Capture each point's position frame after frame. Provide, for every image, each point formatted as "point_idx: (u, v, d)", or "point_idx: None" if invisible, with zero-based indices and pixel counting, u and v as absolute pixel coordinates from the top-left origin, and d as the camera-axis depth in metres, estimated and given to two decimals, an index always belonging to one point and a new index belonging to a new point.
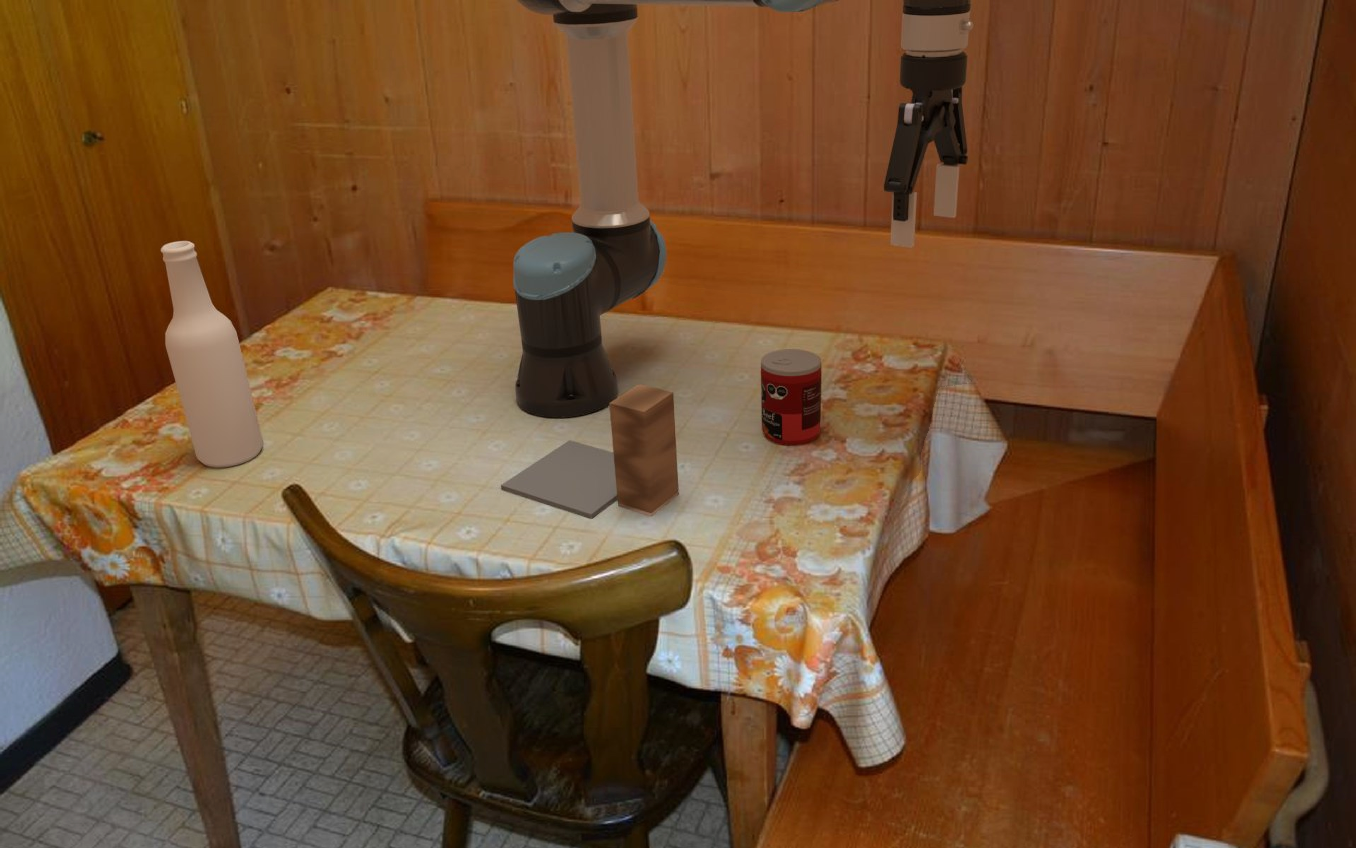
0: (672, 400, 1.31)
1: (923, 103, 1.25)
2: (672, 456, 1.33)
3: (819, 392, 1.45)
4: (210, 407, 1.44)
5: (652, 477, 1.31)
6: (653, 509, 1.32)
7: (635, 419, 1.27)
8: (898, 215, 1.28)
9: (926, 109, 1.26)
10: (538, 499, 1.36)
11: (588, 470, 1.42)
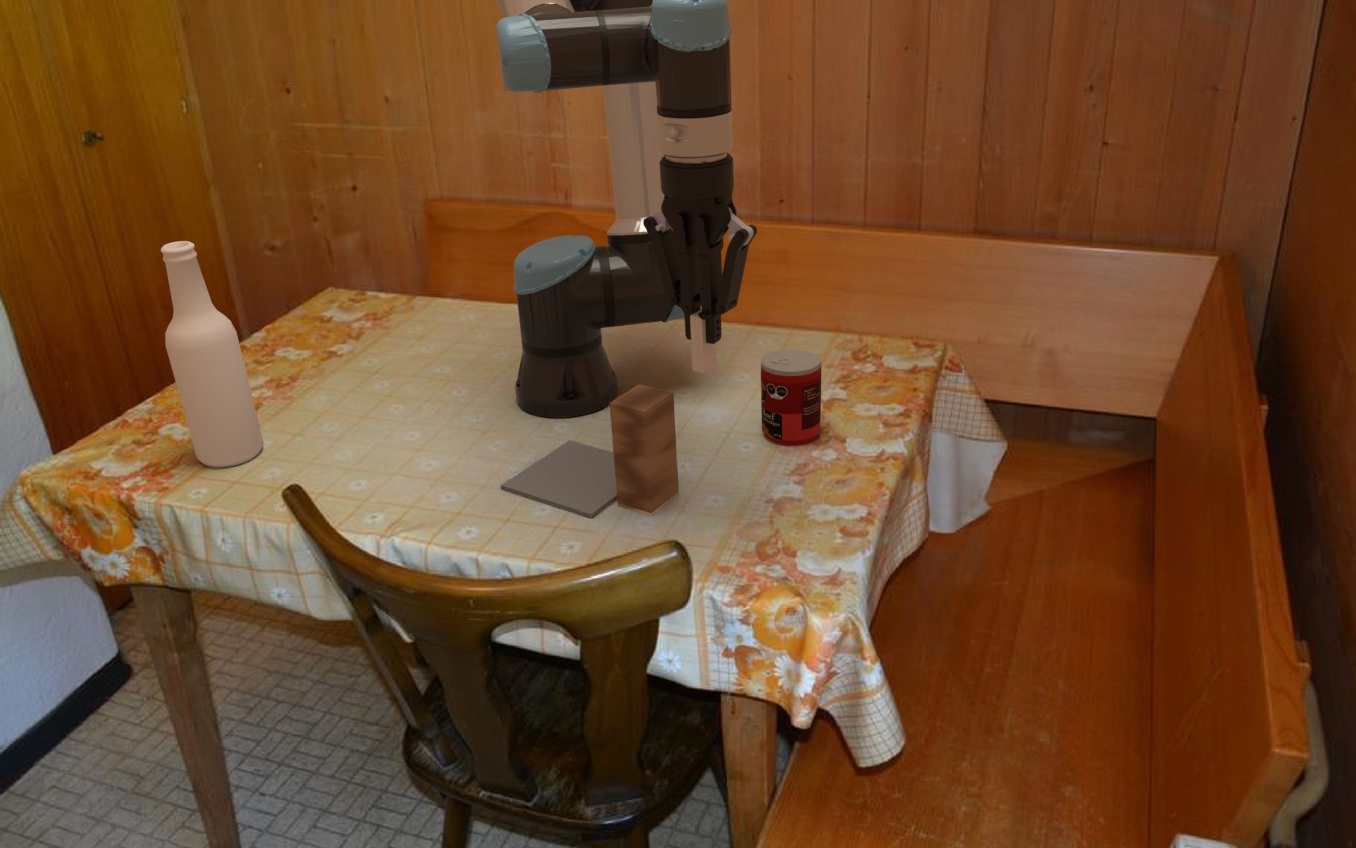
0: (672, 400, 1.31)
1: None
2: (672, 456, 1.33)
3: (819, 392, 1.45)
4: (210, 407, 1.44)
5: (652, 477, 1.31)
6: (653, 509, 1.32)
7: (635, 419, 1.27)
8: None
9: (663, 214, 1.16)
10: (538, 499, 1.36)
11: (588, 470, 1.42)
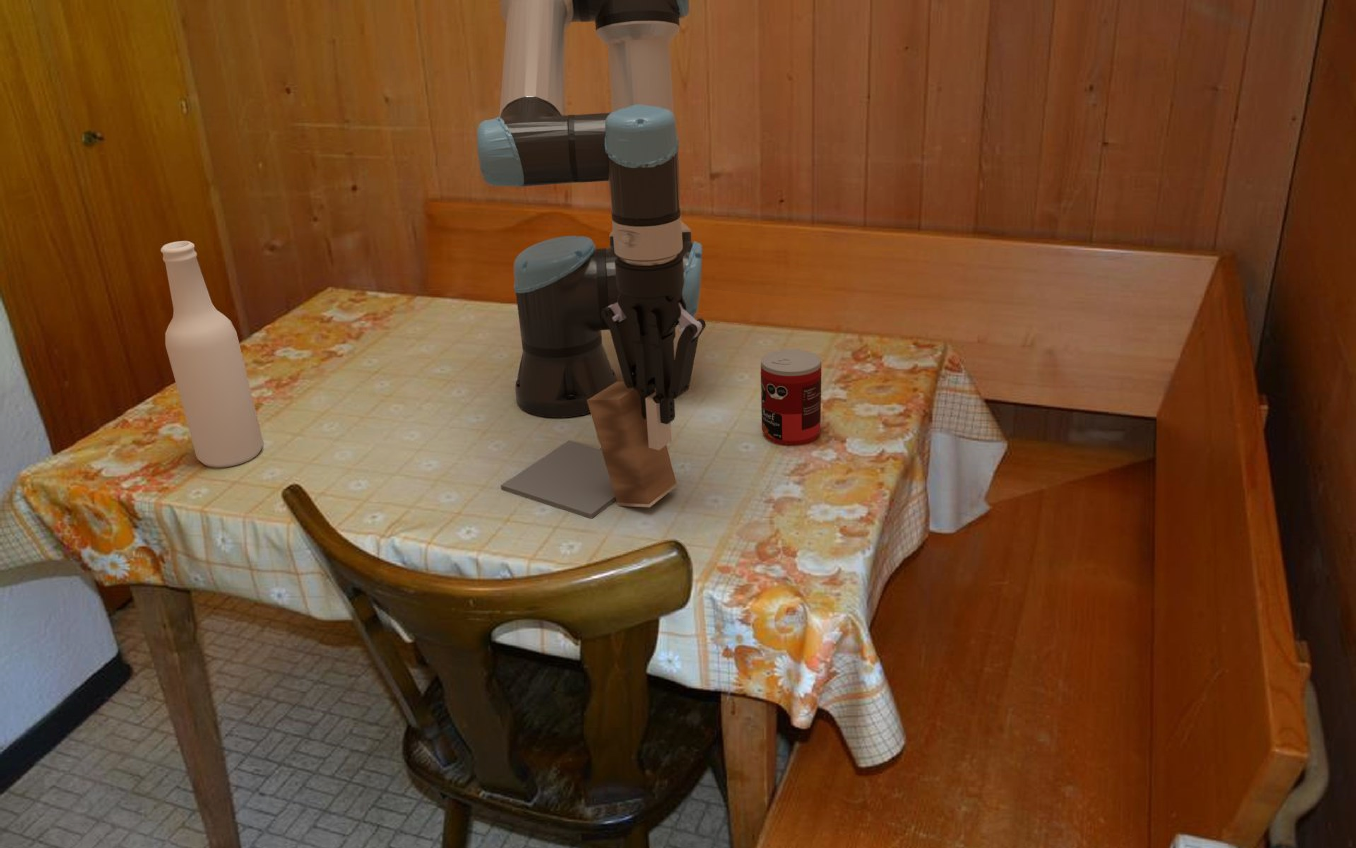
0: None
1: None
2: None
3: (819, 392, 1.45)
4: (210, 407, 1.44)
5: (642, 466, 1.31)
6: (650, 500, 1.32)
7: (613, 410, 1.29)
8: None
9: (619, 306, 1.24)
10: (538, 499, 1.36)
11: (588, 470, 1.42)
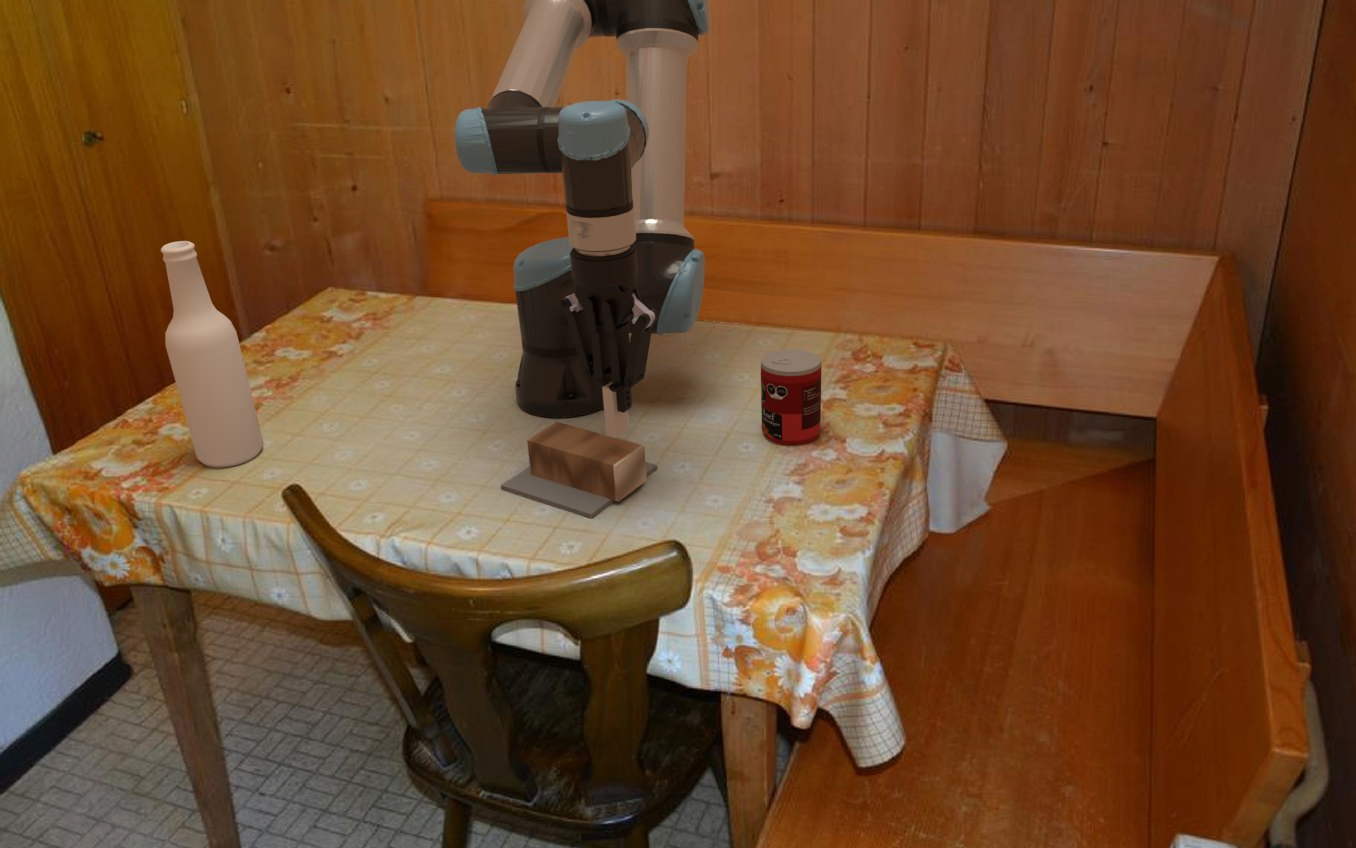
0: (561, 423, 1.43)
1: None
2: (603, 438, 1.39)
3: (819, 392, 1.45)
4: (210, 407, 1.44)
5: (586, 453, 1.35)
6: (613, 462, 1.33)
7: (536, 452, 1.39)
8: None
9: (576, 297, 1.27)
10: (538, 499, 1.36)
11: None
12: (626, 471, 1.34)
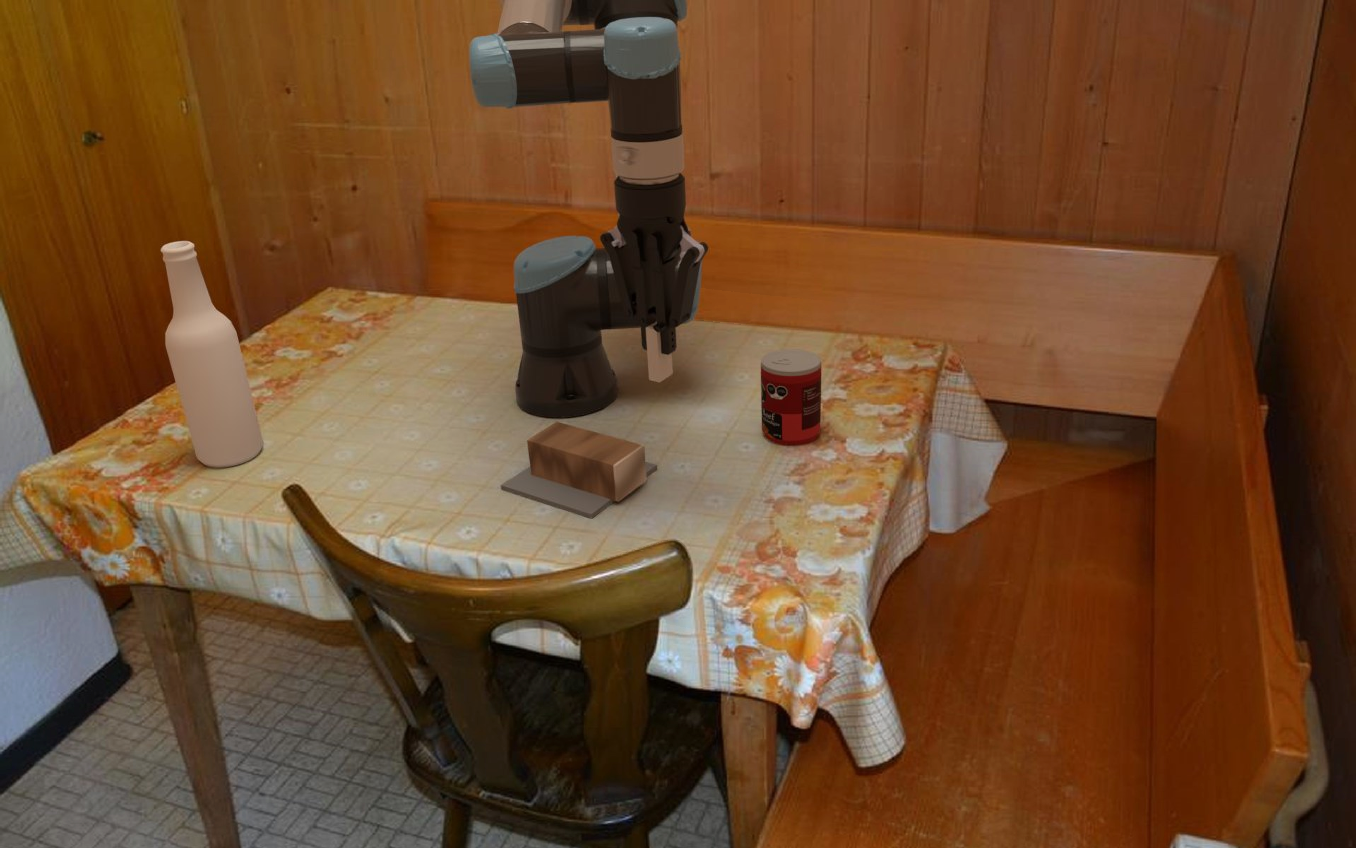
0: (561, 423, 1.43)
1: (617, 225, 1.20)
2: (603, 438, 1.39)
3: (819, 392, 1.45)
4: (210, 407, 1.44)
5: (586, 453, 1.35)
6: (613, 462, 1.33)
7: (536, 452, 1.39)
8: None
9: (619, 230, 1.20)
10: (538, 499, 1.36)
11: None
12: (626, 471, 1.34)
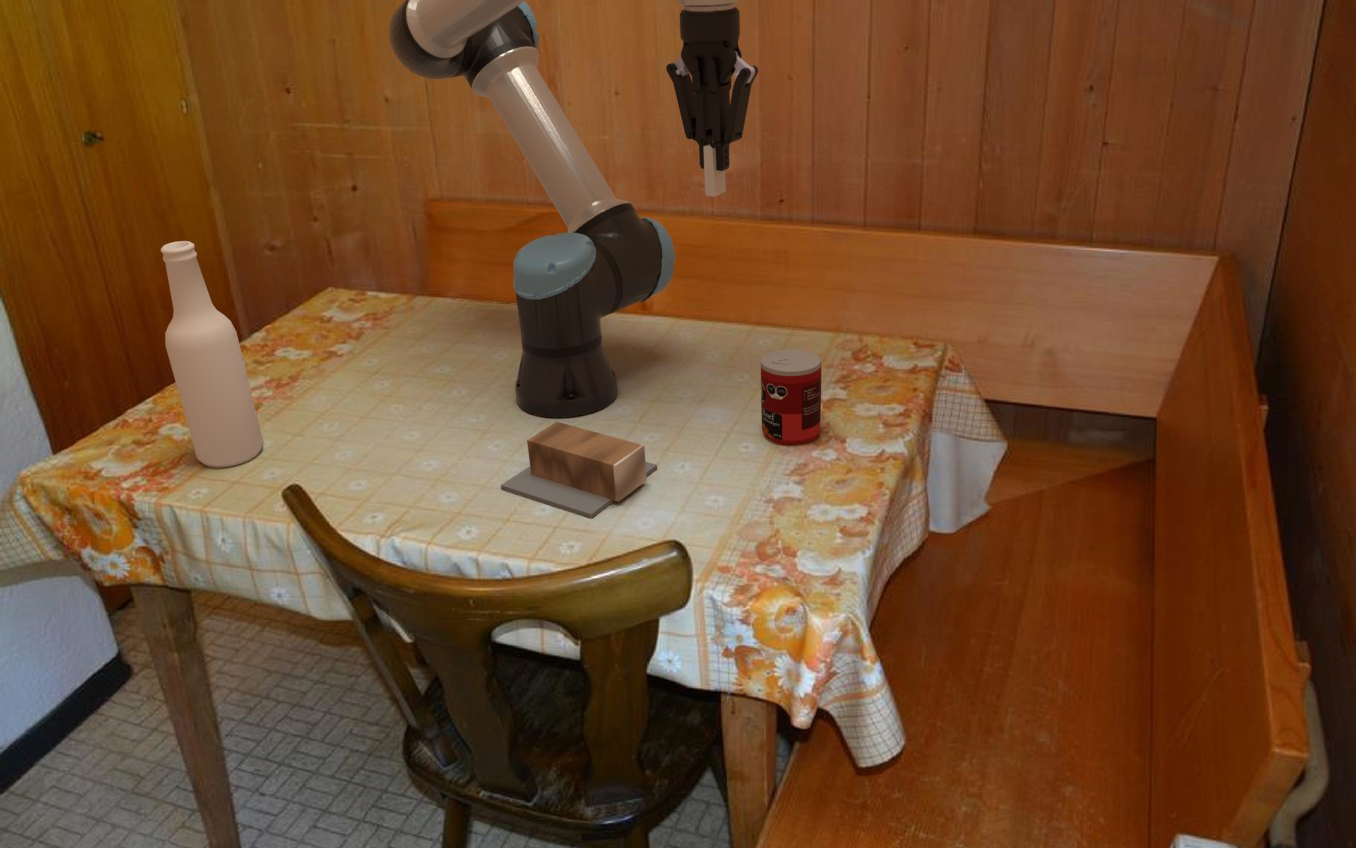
0: (561, 423, 1.43)
1: (681, 55, 1.41)
2: (603, 438, 1.39)
3: (819, 392, 1.45)
4: (210, 407, 1.44)
5: (586, 453, 1.35)
6: (613, 462, 1.33)
7: (536, 452, 1.39)
8: None
9: (682, 59, 1.41)
10: (538, 499, 1.36)
11: None
12: (626, 471, 1.34)
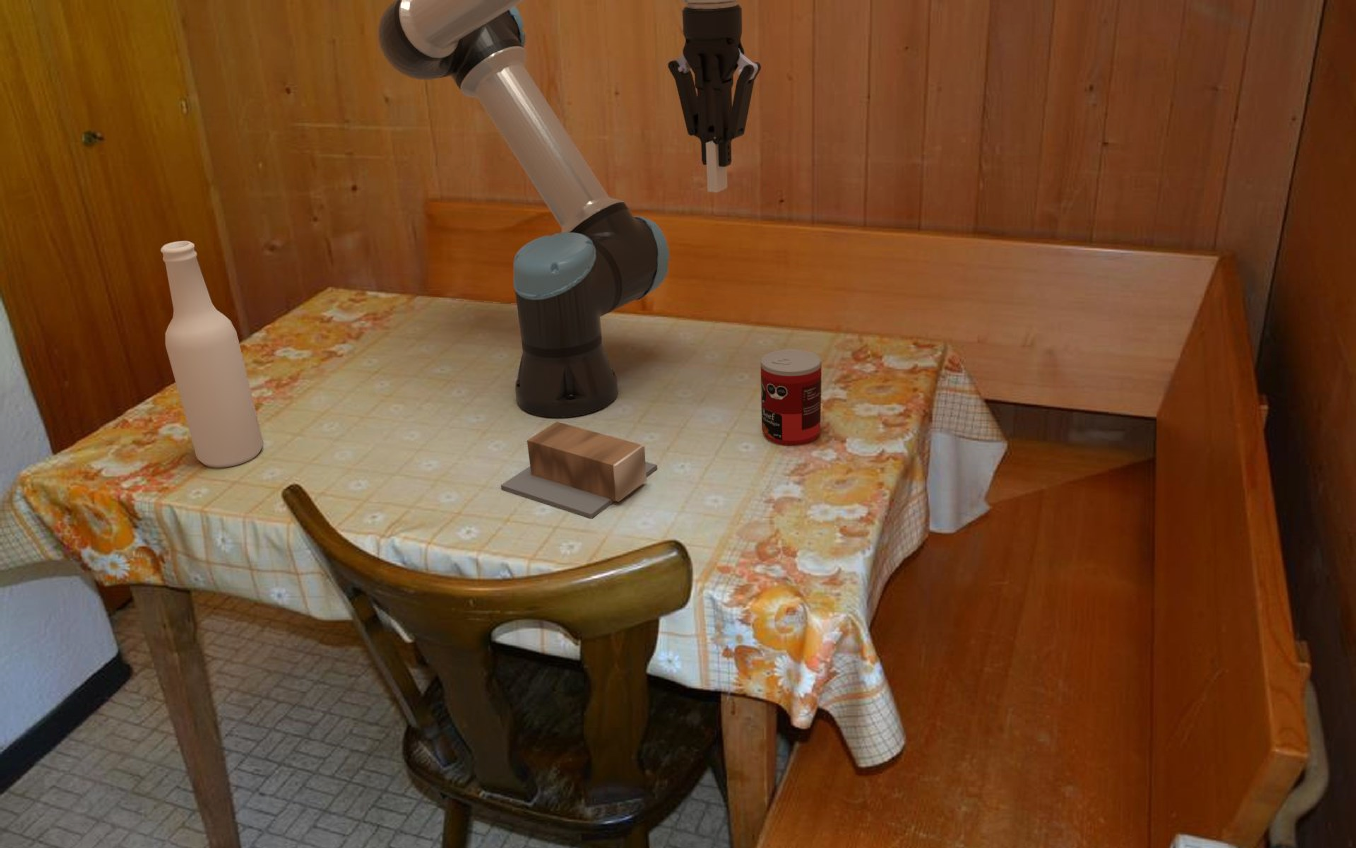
0: (561, 423, 1.43)
1: (683, 52, 1.43)
2: (603, 438, 1.39)
3: (819, 392, 1.45)
4: (210, 407, 1.44)
5: (586, 453, 1.35)
6: (613, 462, 1.33)
7: (536, 452, 1.39)
8: None
9: (685, 56, 1.42)
10: (538, 499, 1.36)
11: None
12: (626, 471, 1.34)
